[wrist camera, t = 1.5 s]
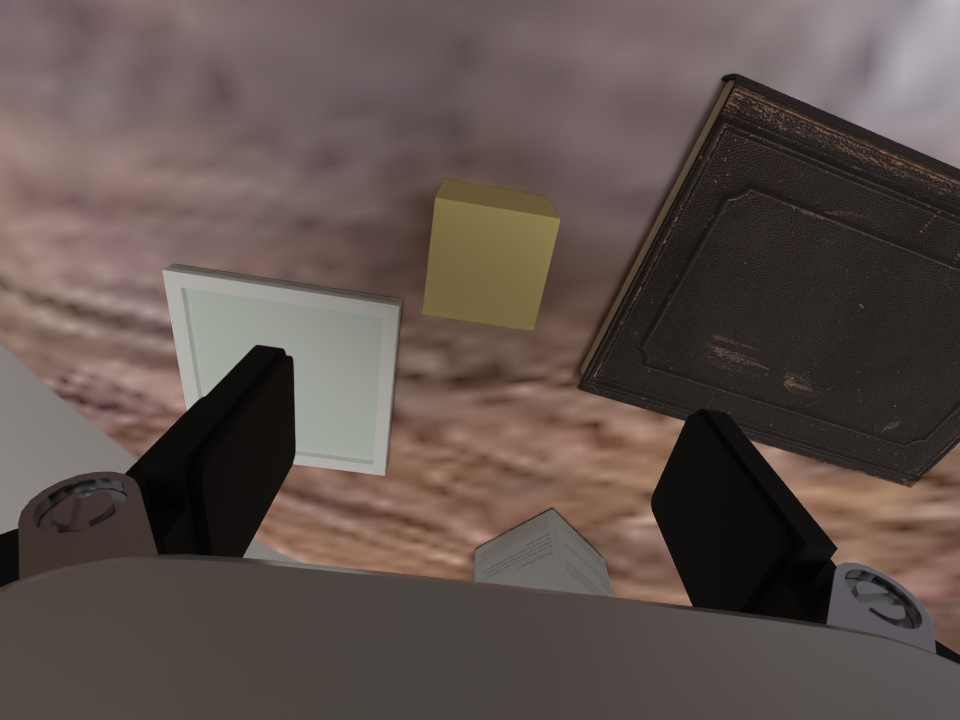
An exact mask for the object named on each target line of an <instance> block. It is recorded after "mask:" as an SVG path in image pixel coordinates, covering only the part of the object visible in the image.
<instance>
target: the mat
mask: <svg viewBox="0 0 960 720" xmlns="http://www.w3.org/2000/svg"><path fill="white" fill-rule="evenodd" d="M162 272H163V277H164V283H165V289H166V295H167V300H168V306H169V312H170V318H171V323H172V329H173V335H174V340H175V346H176V352H177V358H178V363H179V369H180V375H181V380H182V386H183V392H184V398H185V403H186V409H187V411H188V409H189V408H190V407H191V406H192V405H193V404H194V403H195V402H196V401H197V400H199V399H200V398H201V397H204V396H206V395H207V394H208V393H209V392H210V391H211V390H212V389H213V388H214V387H215V386H216V385H217V384H218V383H219V382H220V381H221V380H222V379H223V378H224V377H225V376H226V375H227V374H228V373H229V372H230V371H231V370H232V369H233V367H234V366H235V365H236V364H237V363H238V362H239V361H240V360H241V359H242V358H243V357H244V356H245V355H246V354H247V353H248V352H249V351H250V350H251V349H252V348H253V347H254V346H255V345H264V346H271V347H278V348H283V349H284V350H285V352H286V355H289V356H292V357H293V361H294V395H295V435H296V453H295V458H294V462H293V464H296V465H304V466H312V467H320V468H328V469H336V470H344V471H352V472H360V473H368V474H375V475H383V476H385V473H386V469H387V465H388V454H389V443H390V432H391V420H392V409H393V398H394V386H395V375H396V364H397V352H398V341H399V329H400V318H401V307H402V299H399V298H392V297H386V296H379V295H373V294H366V293H360V292H353V291H347V290H340V289H334V288H327V287H321V286H314V285H308V284H301V283H295V282H289V281H282V280H276V279H269V278H263V277H256V276H250V275H243V274H237V273H230V272H224V271H217V270H211V269H204V268H198V267H191V266H185V265H178V264H172V265H170V266H169V267H167V268H165V269H163V270H162Z"/></svg>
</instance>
